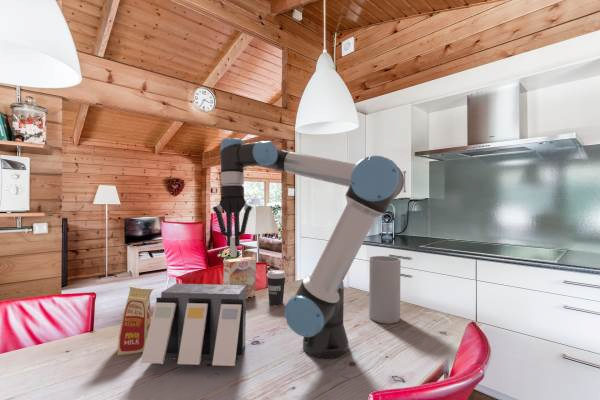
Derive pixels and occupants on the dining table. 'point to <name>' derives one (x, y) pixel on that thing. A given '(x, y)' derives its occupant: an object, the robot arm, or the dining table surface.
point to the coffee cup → (276, 286)
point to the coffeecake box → (241, 273)
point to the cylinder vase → (384, 289)
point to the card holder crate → (214, 299)
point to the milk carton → (135, 322)
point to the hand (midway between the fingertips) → (233, 256)
